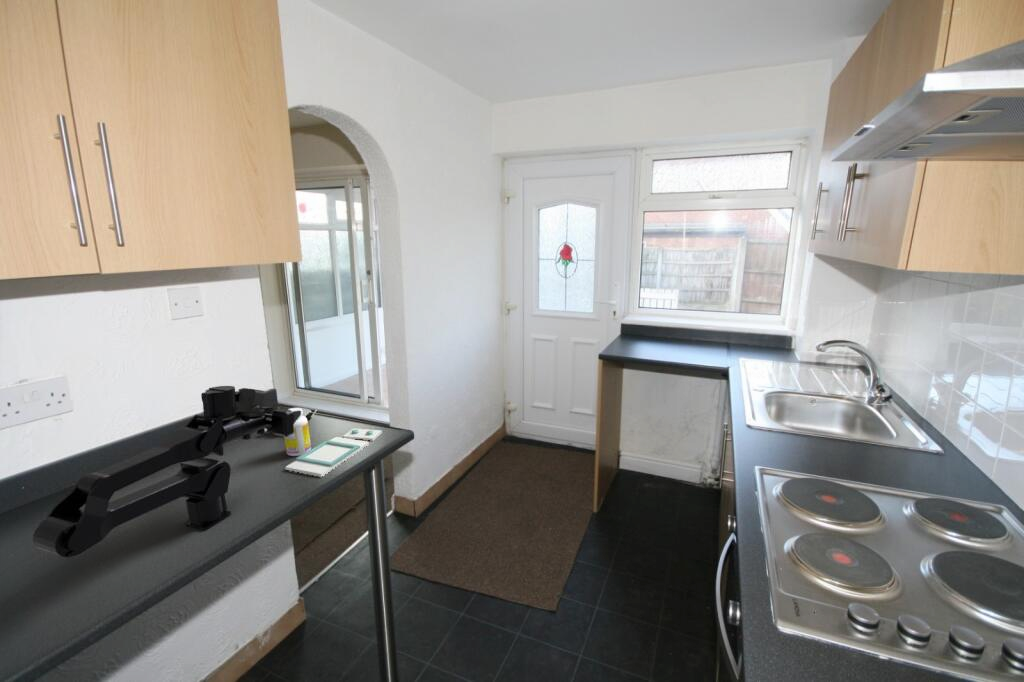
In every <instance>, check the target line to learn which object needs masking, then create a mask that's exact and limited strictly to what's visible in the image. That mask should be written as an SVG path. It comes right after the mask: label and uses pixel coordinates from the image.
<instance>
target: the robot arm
mask: <svg viewBox="0 0 1024 682" xmlns="http://www.w3.org/2000/svg"><path fill="white" fill-rule="evenodd" d="M200 395H201V397H200V398H201V402H202V409H203V410H202V411H203V414H202V415H201V414H195V415H194V416H193V417H191V419H190V420H189V421H188V422H187V423H186V425H185V426H184V427H182V428H180V429H178V430H177V431H176V432H173V433H172V434H171V435H169V436H168V437H167V438H166V439H165V440H164V441H163V442H161V444H159V445H156V446H155V447H152V448H150V449H147V450H145V451H143V452H141V453H138V454H136V455H134V456H132V457H129V458H126V459H124V460H122V461H119V462H117V463H114V464H112V465H110V466H107V467H105V468H102V469H100V470H98V471H95V472H89V473H88V474H85V475H84V476H82V477H81V478H79V480H78V481H77V483H76V484H75V485H74V487H73V488H72V490H71V491H70V492H69V493H67V494H66V495H65V496H64V497H63V498H62V499H61V500H59V502H57V503H56V504H55V505H54V506H53V507H52V509H51V510H50V511H49V513H48V515H47V516H46V517H45V519H44V520H42V521H41V522H40V523H39V524H38V526H37V528H36V529H35V530H34V533H33V535H32V543H33V546H34V547H35V548H36V549H39V550H40V551H45V552H47V553H50V554H53V555H56V556H59V557H64V558H75V557H78V556H81V555H82V554H84V553H85V552H86V551H89V550H90V549H92V548H93V547H95V546H97V545H98V544H100V543H101V542H102V541H103V540H104V539H106V537H107V536H108V535H109V534H110V532H112V530H114V529H116V528H117V527H119V526H122V525H123V524H125V523H127V522H130V521H132V520H134V519H137V518H139V517H142V516H143V515H146V514H148V513H149V512H151V511H154V510H156V509H158V508H161V507H162V506H165V505H166V504H169V503H171V502H173V501H176V500H177V499H180V498H186V499H185V504H186V510H187V515H188V520H187V521H185V523H184V524H185V525H186V526H189V527H193V528H197V529H200V530H208V529H210V528H211V527H213V526H215V525H216V524H218V523H220V522H221V521H222V520H224V519H226V518H227V517H229V516H231V515H232V511H231V510H227V509H228V505H227V500H226V494H227V493H228V491H229V485H230V480H231V479H230V477H231V474H232V473H231V466H230V464H229V462H227V461H224V460H219V459H215V458H210V457H209V458H208V456H210V455H214V456H220V457H222V456H224V453H225V452H224V446H226V445H228V444H231V443H234V442H237V441H239V440H246V441H248V440H251V438H252V437H251V436H253V435H264V434H265V433H266V432H265V428H266V426H267V425H272V431H271V432H272V434H273V435H275V436H279V437H283V438H284V437H287V436H290V435H292V434H293V433H294V425H293V424H294V423H295V422H296V420H297V419H298V418H299V416H300V415H301V411H291V410H288V409H289V408H280V409H279V408H278V409H275V410H274V407H273V406H263V403H264V400H265V397H266V391H265V390H260V389H256V388H255V389H253V388H246V387H243V388H242V387H241V388H238V390H237V391H236V386H234V385H219V386H218V385H217V386H212V387H209V388H207V389H206V390H205V391H204V392H202V393H201V394H200ZM271 413H272V414H271ZM199 426H200V427H205V428H207V429H205V428H199ZM178 463H179V466H180V470H179V471H178V472H177V473H176V474H174V475H172V476H170V477H167V478H165V479H163V480H160V481H158V482H155V483H153V484H151V485H148V486H145V487H143V488H141V489H139V490H136V491H132V492H131V493H130V494H125V495H124V496H121V497H119V498H116V499H115V500H112V501H110V500H111V499H112V497H113V495H114V494H115V492H117V491H120V490H122V489H124V488H125V487H128V486H131V485H132V484H134V483H136V482H138V481H141V480H143V479H146V478H147V477H150V476H152V475H154V474H155V473H157V472H160V471H162V470H164V469H166V468H168V467H171V466H173V465H175V464H178ZM82 507H84V508H82Z"/></svg>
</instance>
